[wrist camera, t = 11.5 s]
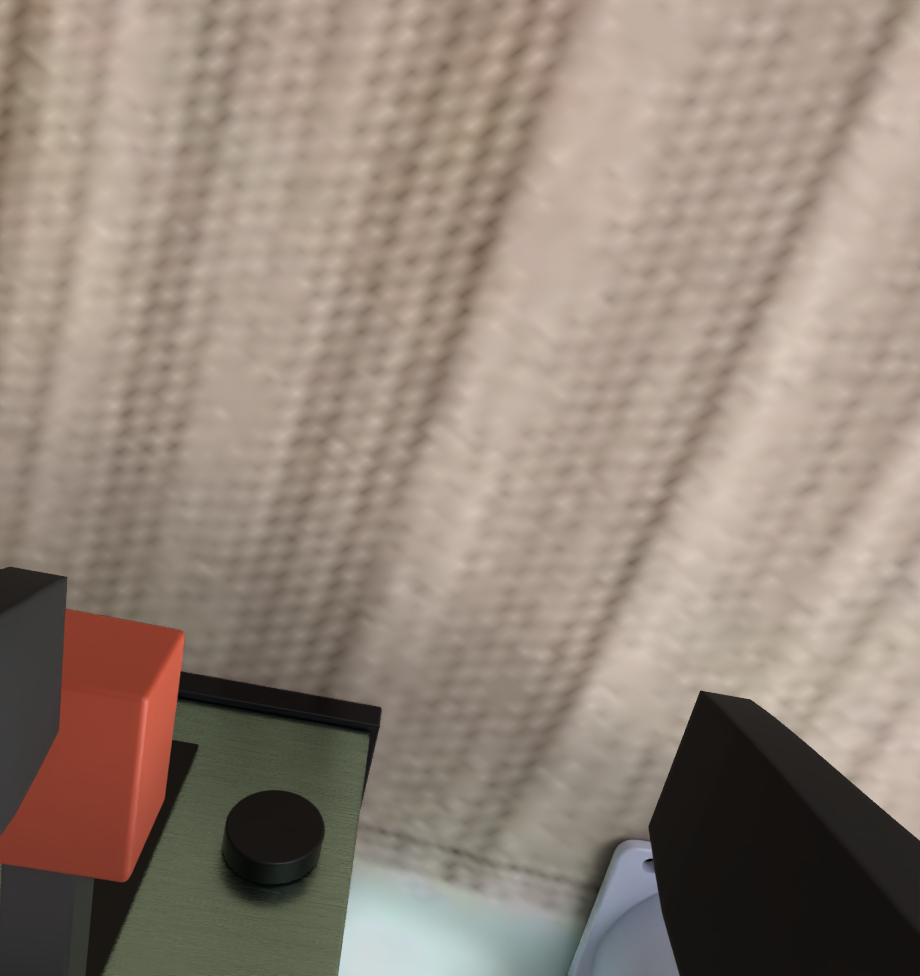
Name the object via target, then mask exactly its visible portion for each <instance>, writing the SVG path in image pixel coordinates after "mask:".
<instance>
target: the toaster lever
mask: <svg viewBox="0 0 920 976" xmlns="http://www.w3.org/2000/svg"><path fill="white" fill-rule="evenodd" d="M184 640H185V636H184V632H183V631H181V630H178V629H173V628H167V627H162V626H157V625H151V624H146V623H140V622H135V621H129V620H124V619H119V618H113V617H108V616H102V615H97V614H91V613H86V612H81V611H75V610H70V609H65V628H64V647H63V666H62V685H61V704H60V723H59V732H58V734H57V736H56V738H55V740H54V742H53V744H52V746H51V748H50V750H49V752H48V754H47V756H46V758H45V760H44V762H43V764H42V766H41V767H40V769H39V771H38V773H37V775H36V777H35V779H34V781H33V783H32V785H31V786H30V788H29V790H28V792H27V794H26V796H25V798H24V799H23V801H22V803H21V805H20V807H19V809H18V810H17V812H16V814H15V816H14V817H13V819H12V820H11V821H10V823H9V824H8V826H7V827H6V829H5V830H4V832H3V833H2V835H1V836H0V864H1V890H0V976H85V975H86V964H87V953H88V942H89V931H90V920H91V909H92V898H93V887H94V878H96V879H103V880H109V881H116V882H126V881H127V880H128V879H129V877H130V876H131V874H132V872H133V869H134V867H135V865H136V863H137V860H138V858H139V856H140V854H141V851H142V849H143V847H144V844H145V842H146V840H147V838H148V835H149V833H150V831H151V829H152V826H153V824H154V822H155V820H156V817H157V815H158V813H159V811H160V808H161V806H162V804H163V802H164V799H165V792H166V784H167V776H168V768H169V760H170V752H171V744H172V736H173V728H174V720H175V712H176V704H177V696H178V688H179V680H180V672H181V664H182V656H183V648H184Z"/></svg>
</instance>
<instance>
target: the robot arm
mask: <svg viewBox="0 0 920 976" xmlns="http://www.w3.org/2000/svg"><path fill="white" fill-rule="evenodd" d="M66 590H67V577H65V576H59V575H53V574H48V573H42V572H37V571H31V570H26V569H20V568H14V567H7V568H4V569H0V836H1V835H2V833H3V832H4V830H5V829H6V827H7V826H8V824H9V823H10V821H11V820H12V819H13V817H14V816H15V814H16V812H17V810H18V809H19V807H20V805H21V803H22V801H23V799H24V798H25V796H26V794H27V792H28V790H29V788H30V786H31V785H32V783H33V781H34V779H35V777H36V775H37V773H38V771H39V769H40V767H41V766H42V764H43V762H44V760H45V758H46V756H47V754H48V752H49V750H50V748H51V746H52V744H53V742H54V740H55V738H56V736H57V734H58V732H59V723H60V704H61V685H62V666H63V647H64V628H65V609H66ZM649 834H650V841H651V842H648V841H642V840H627V841H624V842H622V843H621V844H619V845H618V846H617V848H616V849H615V851H614V854H613V856H612V859H611V862H610V864H609V867H608V870H607V872H606V875H605V877H604V880H603V883H602V885H601V888H600V891H599V893H598V896H597V898H596V901H595V904H594V906H593V909H592V912H591V914H590V917H589V919H588V922H587V925H586V927H585V930H584V933H583V935H582V938H581V940H580V943H579V946H578V948H577V951H576V954H575V956H574V959H573V961H572V964H571V967H570V969H569V972H568V975H567V976H920V841H919V840H918V839H917V838H916V837H915V836H913V835H912V834H911V833H910V832H909V831H908V830H906V829H905V828H904V827H903V826H902V825H900V824H899V823H898V822H897V821H896V820H894V819H893V818H892V817H891V816H890V815H889V814H887V813H886V812H885V811H884V810H883V809H882V808H880V807H879V806H878V805H877V804H876V803H875V802H873V801H872V800H871V799H870V798H869V797H868V796H866V795H865V794H864V793H863V792H862V791H861V790H860V789H858V788H857V787H856V786H855V785H854V784H853V783H851V782H850V781H849V780H848V779H847V778H846V777H844V776H843V775H842V774H841V773H840V772H839V771H838V770H836V769H835V768H834V767H833V766H832V765H831V764H829V763H828V762H827V761H826V760H825V759H824V758H823V757H821V756H820V755H819V754H818V753H817V752H816V751H814V750H813V749H812V748H811V747H810V746H809V745H807V744H806V743H805V742H804V741H803V740H802V739H800V738H799V737H798V736H797V735H796V734H794V733H793V732H792V731H791V730H790V729H788V728H787V727H786V726H785V725H784V724H782V723H781V722H780V721H779V720H777V719H776V718H775V717H774V716H772V715H771V714H770V713H768V712H767V711H766V710H764V709H763V708H762V707H760V706H759V705H757V704H756V703H755V702H753V701H752V700H750V699H744V698H739V697H733V696H728V695H722V694H717V693H711V692H705V691H700V693H699V695H698V698H697V701H696V703H695V706H694V708H693V711H692V714H691V716H690V719H689V722H688V724H687V727H686V729H685V732H684V735H683V737H682V740H681V743H680V745H679V748H678V750H677V753H676V756H675V758H674V761H673V764H672V766H671V769H670V771H669V774H668V777H667V779H666V782H665V785H664V787H663V790H662V792H661V795H660V798H659V800H658V803H657V806H656V808H655V811H654V814H653V816H652V819H651V821H650V824H649ZM652 858H653V860H652V861H650V862H645V860H648V859H652Z"/></svg>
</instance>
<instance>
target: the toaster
mask: <svg viewBox="0 0 920 976" xmlns="http://www.w3.org/2000/svg"><path fill="white" fill-rule="evenodd" d="M381 712H382V709H381V708H380V707H376V706H371V705H365V704H360V703H354V702H348V701H343V700H337V699H332V698H326V697H321V696H315V695H309V694H304V693H298V692H293V691H287V690H282V689H276V688H270V687H265V686H259V685H254V684H248V683H242V682H237V681H231V680H226V679H220V678H215V677H209V676H203V675H198V674H192V673H187V672H180V680H179V688H178V696H177V704H176V712H175V720H174V728H173V736H172V744H171V752H170V760H169V768H168V776H167V784H166V792H165V799H164V802H163V804H162V806H161V808H160V811H159V813H158V815H157V817H156V820H155V822H154V824H153V826H152V829H151V831H150V833H149V835H148V838H147V840H146V842H145V844H144V847H143V849H142V851H141V854H140V856H139V858H138V860H137V863H136V865H135V867H134V869H133V872H132V874H131V876H130V877H129V879H128V880H127V881H126V882H116V881H109V880H103V879H96V878H94V887H93V898H92V909H91V920H90V931H89V942H88V953H87V964H86V975H85V976H338V972H339V965H340V957H341V950H342V942H343V935H344V927H345V920H346V912H347V905H348V897H349V890H350V882H351V875H352V867H353V860H354V852H355V845H356V837H357V829H358V822H359V814H360V809H361V805H362V800H363V796H364V792H365V788H366V783H367V779H368V775H369V770H370V766H371V762H372V757H373V753H374V749H375V745H376V740H377V736H378V732H379V727H380V720H381ZM0 890H1V864H0Z"/></svg>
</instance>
